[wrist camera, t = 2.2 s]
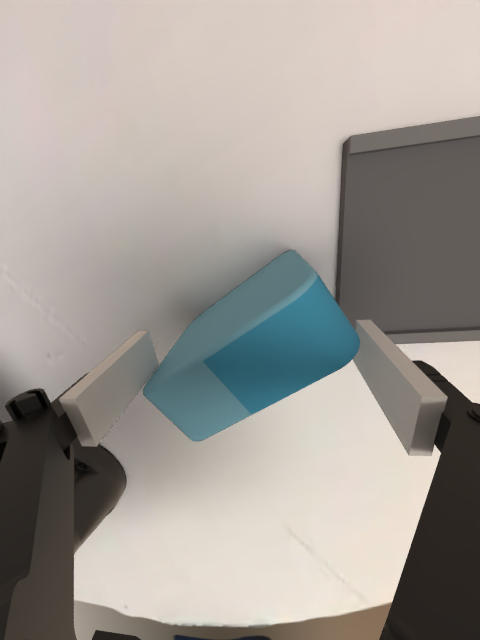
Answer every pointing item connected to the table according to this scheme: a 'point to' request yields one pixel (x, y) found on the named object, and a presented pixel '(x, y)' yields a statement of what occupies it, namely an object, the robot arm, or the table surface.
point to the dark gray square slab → (412, 232)
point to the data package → (253, 349)
